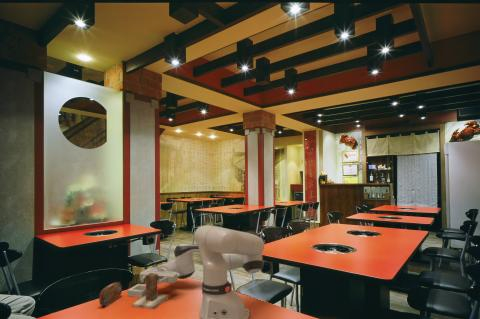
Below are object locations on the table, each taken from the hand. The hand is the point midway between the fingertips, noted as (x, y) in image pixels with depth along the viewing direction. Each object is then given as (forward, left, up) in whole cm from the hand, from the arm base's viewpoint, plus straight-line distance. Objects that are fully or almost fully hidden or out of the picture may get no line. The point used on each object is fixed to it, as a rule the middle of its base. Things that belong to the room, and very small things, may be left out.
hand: (150, 281), depth 142 cm
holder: (+12, -9, -10) cm, 18 cm away
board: (0, -1, -10) cm, 10 cm away
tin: (+20, +4, -10) cm, 23 cm away
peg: (0, -1, -9) cm, 9 cm away
